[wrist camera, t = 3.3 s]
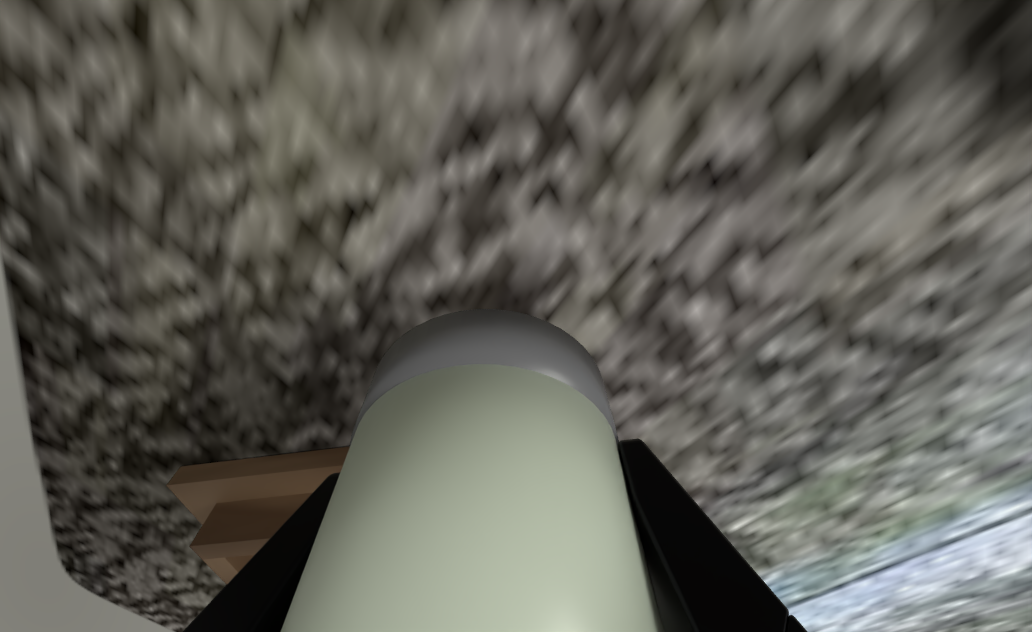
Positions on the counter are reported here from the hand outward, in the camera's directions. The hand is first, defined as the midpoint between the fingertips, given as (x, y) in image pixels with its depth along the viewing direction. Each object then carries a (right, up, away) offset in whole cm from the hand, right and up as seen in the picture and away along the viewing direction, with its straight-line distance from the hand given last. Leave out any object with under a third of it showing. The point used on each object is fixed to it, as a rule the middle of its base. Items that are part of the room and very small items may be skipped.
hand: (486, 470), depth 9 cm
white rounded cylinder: (0, +1, +1) cm, 2 cm away
